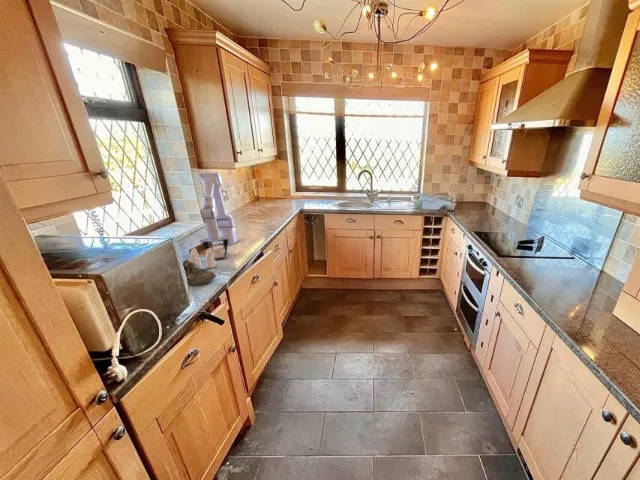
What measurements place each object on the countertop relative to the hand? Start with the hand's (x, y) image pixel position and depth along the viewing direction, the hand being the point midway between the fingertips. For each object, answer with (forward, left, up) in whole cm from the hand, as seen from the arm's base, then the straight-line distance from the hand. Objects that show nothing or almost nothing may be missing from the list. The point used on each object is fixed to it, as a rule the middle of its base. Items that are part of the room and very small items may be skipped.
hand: (218, 254), depth 173 cm
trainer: (0, 0, -1) cm, 1 cm away
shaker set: (+18, +2, -2) cm, 18 cm away
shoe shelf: (-10, -11, -1) cm, 15 cm away
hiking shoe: (+34, +7, -2) cm, 35 cm away
